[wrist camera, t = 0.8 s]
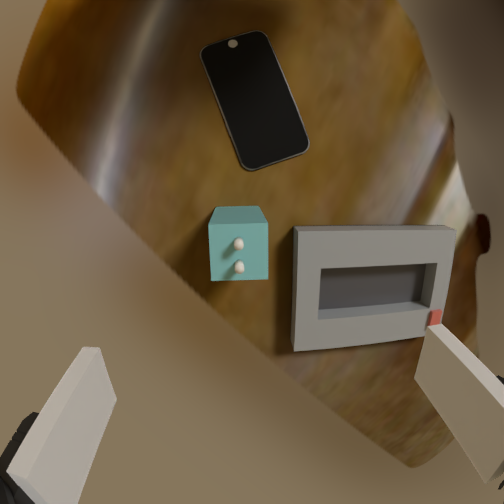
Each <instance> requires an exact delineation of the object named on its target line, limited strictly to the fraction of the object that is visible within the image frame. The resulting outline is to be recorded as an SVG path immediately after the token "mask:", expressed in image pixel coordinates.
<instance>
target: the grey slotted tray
mask: <svg viewBox="0 0 504 504" xmlns="http://www.w3.org/2000/svg"><path fill="white" fill-rule="evenodd" d="M456 231H457V230H455V229H453V228H450V227H447V226H445V225H326V226H293V276H292V309H291V335H290V340H291V343H292V346H293V350H294V351H306V350H318V349H329V348H339V347H348V346H357V345H366V344H373V343H381V342H388V341H395V340H402V339H408V338H415V337H421V336H425V334H426V330H427V326H432V325H437V324H441V320H442V316H443V311H444V306H445V302H446V297H447V292H448V286H449V281H450V275H451V269H452V262H453V255H454V248H455V240H456Z"/></svg>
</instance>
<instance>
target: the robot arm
mask: <svg viewBox="0 0 504 504" xmlns="http://www.w3.org/2000/svg"><path fill="white" fill-rule="evenodd" d="M414 379H415V380H416V382H417V383H418V384H419V386H420V387H421V389H422V390H423V391H424V393H425V394H426V396H427V397H428V399H429V400H430V401H431V403H432V404H433V406H434V407H435V409H436V410H437V412H438V413H439V414H440V416H441V417H442V419H443V420H444V422H445V423H446V425H447V426H448V428H449V429H450V431H451V432H452V434H453V435H454V437H455V438H456V440H457V441H458V443H459V444H460V446H461V447H462V449H463V450H464V452H465V453H466V455H467V456H468V458H469V459H470V461H471V463H472V464H473V466H474V467H475V469H476V470H477V472H478V474H479V475H480V477H481V479H482V480H483V482H484V483H485V484H487V483H488V482H490V481H492V480H494V479H496V478H497V477H499V476H501V474H502V473H503V472H504V378H502V377H500V376H499V375H498V376H495V375H494V374H493V373H492V372H491V371H490V370H489V369H488V368H487V367H486V366H484V364H483V363H482V362H481V361H480V360H479V359H478V358H477V357H476V356H475V355H474V354H473V353H472V352H471V351H470V350H469V349H468V348H467V347H465V346H464V345H463V344H462V343H461V342H460V341H459V340H458V339H457V338H456V337H455V336H454V335H453V334H452V333H451V332H450V331H449V330H448V329H447V328H446V327H444V326H443V325H442V324H437V325H432V326H427V330H426V334H425V339H424V343H423V347H422V351H421V355H420V359H419V362H418V366H417V370H416V373H415V377H414ZM116 401H117V399H116V396H115V393H114V391H113V387H112V385H111V382H110V379H109V376H108V373H107V370H106V367H105V363H104V360H103V357H102V354H101V351H100V348H96V347H83V348H82V349H81V351H80V352H79V354H78V355H77V357H76V358H75V360H74V361H73V362H72V364H71V365H70V367H69V369H68V370H67V371H66V373H65V374H64V376H63V377H62V379H61V380H60V382H59V384H58V385H57V387H56V388H55V390H54V391H53V393H52V395H51V396H50V398H49V399H48V401H47V402H46V404H45V405H44V407H43V409H42V410H41V412H40V413H36V412H33V413H31V414H30V415H29V416H27V417H26V418H25V419H24V420H23V421H22V422H21V424H20V426H19V427H18V429H17V432H15V434H14V435H13V437H12V440H11V441H10V442H9V443H8V445H7V447H6V449H5V450H4V452H3V454H2V455H1V457H0V504H78V501H79V498H80V495H81V492H82V489H83V486H84V484H85V481H86V478H87V475H88V472H89V470H90V467H91V464H92V462H93V459H94V456H95V454H96V451H97V448H98V446H99V443H100V440H101V438H102V435H103V433H104V430H105V428H106V425H107V423H108V420H109V418H110V415H111V413H112V411H113V408H114V406H115V403H116ZM503 486H504V480H503V481H502V483H501V484H500V486H499V488H498V489H501V488H502V487H503Z"/></svg>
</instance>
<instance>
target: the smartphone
mask: <svg viewBox="0 0 504 504" xmlns="http://www.w3.org/2000/svg"><path fill="white" fill-rule="evenodd" d="M200 59H201V62H202V64H203V67H204V69H205V72H206V74H207V77H208V79H209V82H210V85H211V87H212V90H213V92H214V95H215V97H216V100H217V102H218V105H219V108H220V110H221V113H222V115H223V118H224V121H225V123H226V127H227V129H228V132H229V134H230V136H231V139H232V142H233V144H234V147H235V149H236V152H237V155H238V157H239V160H240V163H241V165H242V166H243V167H244V168H245V169H247V170H257V169H260V168H263V167H265V166H268V165H271V164H274V163H277V162H280V161H283V160H286V159H288V158H291V157H294V156H297V155H300V154H303V153H305V152H306V151H307V150H308V148H309V145H310V141H309V138H308V135H307V132H306V130H305V127H304V124H303V121H302V118H301V116H300V114H299V110H298V108H297V105H296V103H295V101H294V98H293V95H292V93H291V90H290V88H289V85H288V83H287V81H286V78H285V76H284V73H283V71H282V68H281V66H280V64H279V61H278V59H277V57H276V54H275V52H274V50H273V48H272V45H271V43H270V41H269V39H268V36H267V35H266V34H265V33H264V32H262V31H258V30H255V31H250V32H247V33H243V34H240V35H237V36H233V37H230V38H227V39H224V40H221V41H218V42H215V43H212V44H209V45H206V46H205V47H203V48H202V50H201V51H200Z"/></svg>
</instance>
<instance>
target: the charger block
mask: <svg viewBox="0 0 504 504" xmlns="http://www.w3.org/2000/svg"><path fill="white" fill-rule="evenodd" d="M208 229H209V249H210V268H211V281H224V280H256V279H268V222H267V220H266V219H265V217H264V215H263V213H262V211H261V210H260V208H259V206H231V207H216V208H215V210H214V212H213V215H212V217H211V220H210V222H209V224H208Z"/></svg>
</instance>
